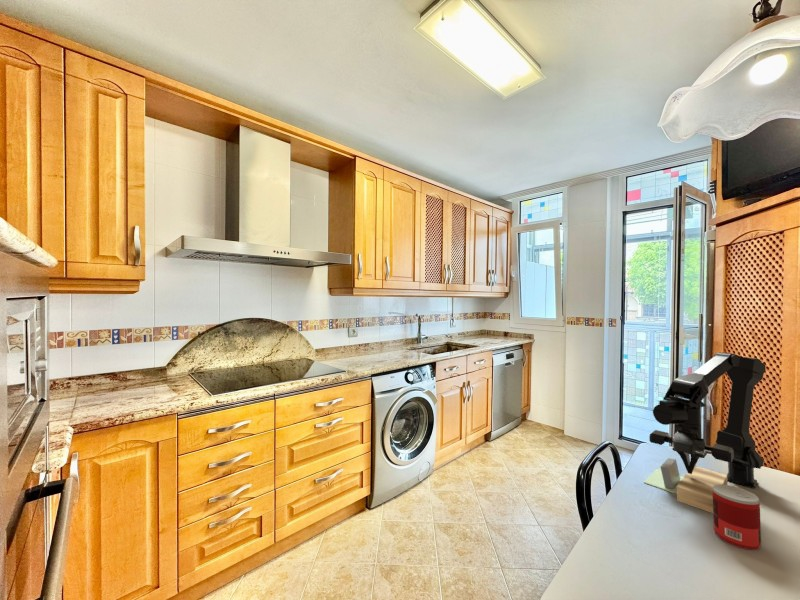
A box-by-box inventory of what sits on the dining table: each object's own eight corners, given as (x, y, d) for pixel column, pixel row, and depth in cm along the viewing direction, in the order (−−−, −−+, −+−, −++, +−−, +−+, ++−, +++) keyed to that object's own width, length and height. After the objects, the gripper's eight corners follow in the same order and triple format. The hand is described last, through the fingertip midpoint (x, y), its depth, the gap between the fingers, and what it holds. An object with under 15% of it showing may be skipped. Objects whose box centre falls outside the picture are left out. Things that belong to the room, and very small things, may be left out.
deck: (693, 477, 107) (692, 465, 107) (727, 488, 101) (727, 475, 101) (677, 500, 94) (676, 486, 95) (715, 513, 88) (714, 498, 88)
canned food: (771, 553, 74) (769, 503, 74) (729, 548, 76) (727, 499, 76) (743, 530, 82) (741, 485, 82) (705, 526, 83) (704, 482, 84)
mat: (657, 469, 113) (657, 468, 113) (691, 479, 106) (691, 478, 106) (644, 482, 104) (643, 482, 104) (680, 495, 97) (680, 494, 97)
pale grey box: (680, 479, 105) (672, 477, 106) (675, 459, 106) (668, 458, 107) (673, 489, 99) (665, 487, 101) (668, 467, 100) (660, 466, 102)
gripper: (643, 419, 102) (644, 470, 102) (727, 437, 88) (729, 496, 88) (653, 412, 109) (655, 459, 109) (733, 427, 95) (735, 482, 95)
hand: (690, 473), depth 100 cm, fingers closed
